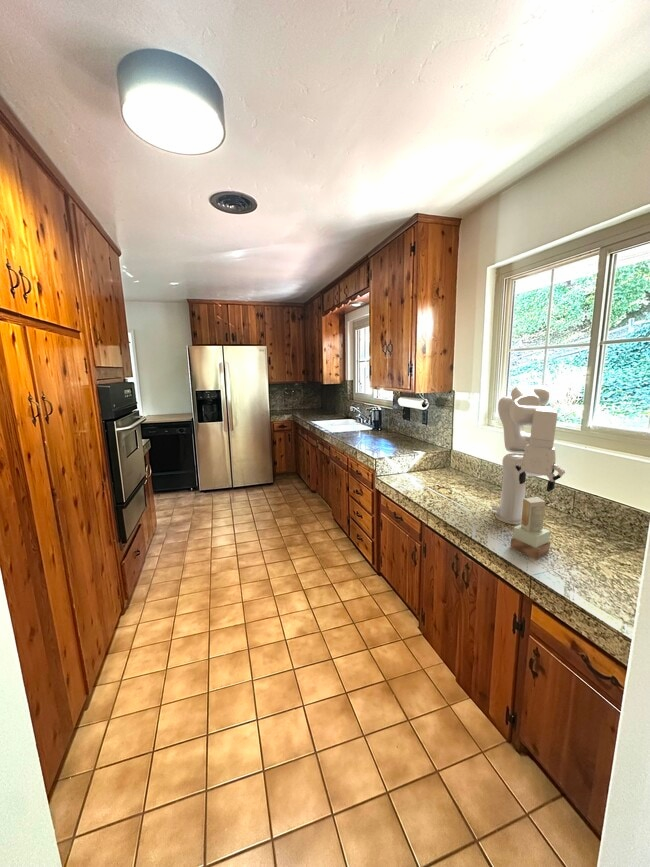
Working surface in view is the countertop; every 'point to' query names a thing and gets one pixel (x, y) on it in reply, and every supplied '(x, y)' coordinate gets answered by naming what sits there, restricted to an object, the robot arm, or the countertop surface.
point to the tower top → (531, 536)
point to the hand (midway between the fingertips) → (535, 486)
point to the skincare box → (533, 514)
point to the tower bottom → (529, 549)
